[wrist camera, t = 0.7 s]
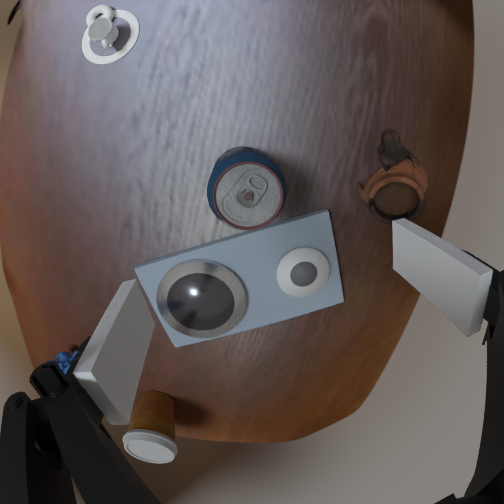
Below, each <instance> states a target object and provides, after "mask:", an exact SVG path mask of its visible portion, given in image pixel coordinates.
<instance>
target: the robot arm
mask: <svg viewBox="0 0 504 504" xmlns="http://www.w3.org/2000/svg"><path fill="white" fill-rule="evenodd" d="M392 228H393V269H394V270H395V271H396V272H398V273H399V274H400V275H401V276H402V277H403V278H404V279H406V280H407V281H408V282H409V283H410V284H411V285H412V286H413V287H415V288H416V289H417V290H418V291H419V292H420V293H421V294H423V296H425V297H426V298H427V299H428V300H429V301H430V302H431V303H432V304H433V305H434V306H435V307H436V308H438V309H439V310H440V311H441V312H442V313H443V314H444V315H445V316H446V317H447V318H448V319H449V320H450V321H451V322H452V323H453V324H454V325H455V326H456V327H457V328H458V329H460V330H461V332H462V333H464V334H465V335H466V336H467V337H469V336H471V335H473V334H474V333H476V332H478V331H480V328H481V324H482V321H483V318H484V319H485V320H487V321H488V326H487V329H486V333H485V336H484V339H483V343H482V345H484V344H485V341H487V385H486V402H485V412H484V413H485V414H484V421H483V430H482V436H481V443H480V449H479V455H478V460H477V465H476V469H475V473H474V476H473V478H472V480H471V482H470V484H469V486H468V488H467V490H466V492H465V495H464V497H461V498H457V499H456V497H455V495H454V494H451V495H449V496H447V497H446V498H444V499H442V500H440V501H438V502H437V503H435V504H504V270H503V271H501V272H499V271H498V270H496V269H495V268H493V267H492V266H490V265H488V264H487V263H485V262H484V261H481V260H480V259H479V258H477V257H475V256H474V255H472V254H471V253H469V252H467V251H464V250H461V249H459V248H457V247H455V246H453V245H452V244H450V243H448V242H447V241H445V240H443V239H441V238H440V237H438V236H436V235H434V234H433V233H431V232H429V231H427V230H425V229H423V228H422V227H420V226H418V225H416V224H414V223H412V222H410V221H409V220H407V219H405V218H402V219H398V220H394V221H392ZM154 326H155V324H154V321H153V319H152V317H151V314H150V312H149V309H148V307H147V305H146V302H145V300H144V297H143V295H142V292H141V290H140V287H139V285H138V282H137V280H136V279H134V280H130V281H125V282H123V283H122V284H121V286H120V288H119V289H118V291H117V293H116V294H115V296H114V298H113V299H112V301H111V303H110V305H109V306H108V308H107V310H106V312H105V313H104V315H103V317H102V319H101V320H100V322H99V324H98V326H97V328H96V329H95V331H94V333H93V335H92V336H89V337H88V338H87V339H86V340H85V341H84V342H83V343H82V344H81V346H80V348H79V350H78V351H77V354H76V355H75V357H74V360H73V361H72V363H71V364H70V366H69V368H68V370H67V372H66V374H64V373H63V371H62V370H61V368H60V367H59V365H58V364H57V363H56V362H53V361H50V362H46V363H43V364H41V365H40V366H38V367H37V368H36V369H35V370H34V371H33V372H32V374H31V376H30V383H31V385H32V386H33V387H34V389H35V390H36V391H37V393H38V394H39V395H40V396H41V398H38V399H35V400H31V399H30V398H29V397H28V396H27V394H25V392H17V393H15V394H12V395H11V397H9V398H8V400H7V401H6V403H5V405H4V409H3V416H2V424H1V433H0V504H77V503H76V498H75V494H74V489H73V484H72V480H71V476H72V478H73V480H74V482H75V484H76V486H77V488H78V490H79V492H80V494H81V496H82V498H83V500H84V501H85V503H86V504H162V503H161V502H160V501H159V500H158V499H157V498H156V496H155V495H154V494H153V493H152V492H151V490H150V489H149V488H148V487H147V485H146V484H145V483H144V482H143V480H142V479H141V478H140V477H139V475H138V474H137V473H136V472H135V470H134V469H133V467H132V466H131V465H130V463H129V462H128V461H127V459H126V458H125V457H124V455H123V454H122V452H121V451H120V449H119V448H118V447H117V445H116V444H115V442H114V441H113V439H112V438H111V436H110V434H109V433H108V431H107V430H106V428H105V427H104V426H103V425H102V423H101V422H102V418H103V415H104V416H105V418H106V419H107V420H108V421H109V423H110V424H111V425H122V424H129V420H130V415H131V411H132V407H133V403H134V399H135V395H136V391H137V387H138V383H139V379H140V376H141V372H142V368H143V364H144V361H145V357H146V354H147V350H148V347H149V343H150V340H151V336H152V333H153V330H154Z"/></svg>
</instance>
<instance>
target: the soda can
mask: <svg viewBox="0 0 504 504" xmlns="http://www.w3.org/2000/svg"><path fill="white" fill-rule="evenodd" d="M286 193H287V189H286V182H285V179H284V176H283V174H282V172H281V171H280V169H279V168H278V167H277V165H276V164H275V163H273V162H272V161H271V160H270V159H269V158H267V157H266V156H265V155H263V154H262V153H261V152H259V151H258V150H256V149H253V148H250V147H236V148H232V149H230V150H228V151H226V152H225V153H223V154H222V155H221V156H220V157H219V159H218V160H217V162H216V163H215V166H214V168H213V171H212V173H211V176H210V179H209V182H208V187H207V197H208V202H209V205H210V207H211V209H212V211H213V213H214V214H215V215H216V217H217V218H218V219H219V220H220V221H222V222H223V223H224V224H226V225H228V226H230V227H232V228H235V229H240V230H253V229H258V228H261V227H263V226H265V225H267V224H269V223H270V222H272V221H273V220H274V219H275V218H276V217H277V216H278V214H279V213H280V211H281V210H282V208H283V206H284V203H285V200H286Z"/></svg>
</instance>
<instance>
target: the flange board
mask: <svg viewBox="0 0 504 504" xmlns="http://www.w3.org/2000/svg"><path fill="white" fill-rule="evenodd" d="M191 259H207V260H212V261H215V262H218V263H221V264H222V265H224V266H226V267H228V268H229V269H230V270H232V271H233V272H234V273H235V274H236V275H237V277H238V278H239V279H240V281H241V283H242V285H243V287H244V291H245V297H246V308H245V312H244V315H243V317H242V319H241V320H240V322H239V323H238V324H237V325H236V326H235V327H234V328H233V329H232V330H230V331H229V332H227V333H225V334H223V335H220V336H217V337H212V338H195V337H190V336H187V335H184V334H182V333H180V332H178V331H176V330H175V329H173V328H172V327H171V326H169V325H168V324H167V323H166V321H165V320H164V319H163V318H162V316H161V314H160V312H159V310H158V307H157V301H156V294H157V289H158V286H159V283H160V281H161V279H162V277H163V276H164V274H165V273H166V272H167V271H168V270H169V269H170V268H172V267H173V266H174V265H176V264H178V263H180V262H183V261H186V260H191ZM134 269H135V272H136V274H137V276H138V278H139V280H140V282H141V284H142V286H143V288H144V290H145V292H146V294H147V296H148V298H149V300H150V302H151V304H152V306H153V308H154V310H155V312H156V314H157V316H158V317H159V319H160V321H161V323H162V325H163V327H164V329H165V330H166V332H167V334H168V336H169V338H170V339H171V341H172V343H173V345H174V346H175V347H180V346H184V345H189V344H193V343H197V342H202V341H206V340H210V339H214V338H218V337H223V336H227V335H231V334H234V333H238V332H242V331H246V330H250V329H254V328H257V327H261V326H265V325H268V324H272V323H275V322H279V321H283V320H286V319H289V318H293V317H296V316H300V315H303V314H306V313H310V312H313V311H316V310H319V309H322V308H326V307H329V306H332V305H335V304H338V303H341V302H344V299H343V292H342V285H341V279H340V272H339V266H338V260H337V254H336V248H335V242H334V237H333V231H332V226H331V221H330V216H329V211H328V210H327V209H326V208H325V209H322V210H318V211H315V212H311V213H308V214H304V215H301V216H297V217H294V218H290V219H287V220H283V221H280V222H276V223H273V224H269V225H266V226H263V227H261V228H258V229H253V230H249V231H245V232H242V233H239V234H235V235H232V236H228V237H225V238H222V239H218V240H215V241H212V242H208V243H205V244H202V245H199V246H195V247H192V248H189V249H185V250H182V251H179V252H176V253H173V254H169V255H166V256H163V257H160V258H156V259H153V260H150V261H147V262H144V263H141V264H137V265H136V266H135V268H134Z"/></svg>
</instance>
